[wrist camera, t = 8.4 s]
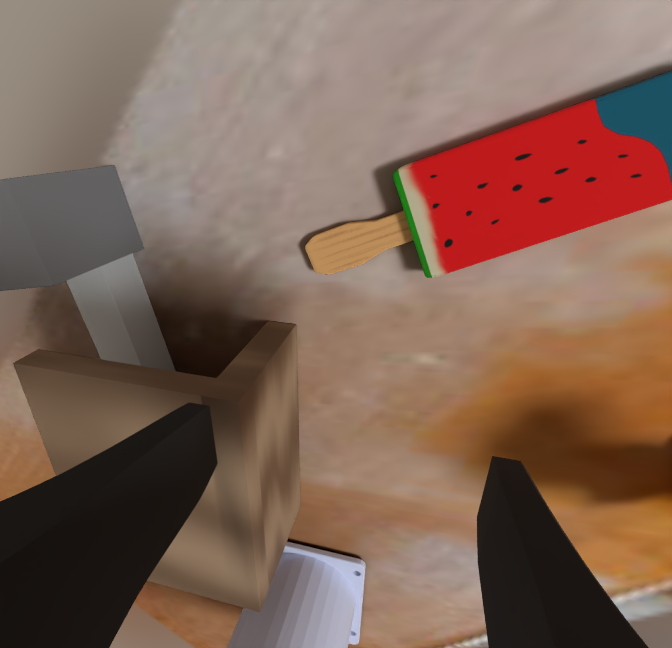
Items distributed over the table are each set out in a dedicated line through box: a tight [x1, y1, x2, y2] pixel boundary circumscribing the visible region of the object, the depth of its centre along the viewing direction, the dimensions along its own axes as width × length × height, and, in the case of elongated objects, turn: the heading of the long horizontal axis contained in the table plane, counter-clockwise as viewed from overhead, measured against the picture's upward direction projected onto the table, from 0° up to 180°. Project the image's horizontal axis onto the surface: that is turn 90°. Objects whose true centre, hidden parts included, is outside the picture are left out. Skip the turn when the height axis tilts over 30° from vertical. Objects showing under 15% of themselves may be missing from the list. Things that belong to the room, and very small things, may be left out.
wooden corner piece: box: [13, 321, 301, 612], centre depth 22 cm, size 13×10×7 cm
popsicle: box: [305, 71, 672, 278], centre depth 16 cm, size 4×2×15 cm
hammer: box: [0, 165, 175, 371], centre depth 21 cm, size 18×4×6 cm, turn 9°
